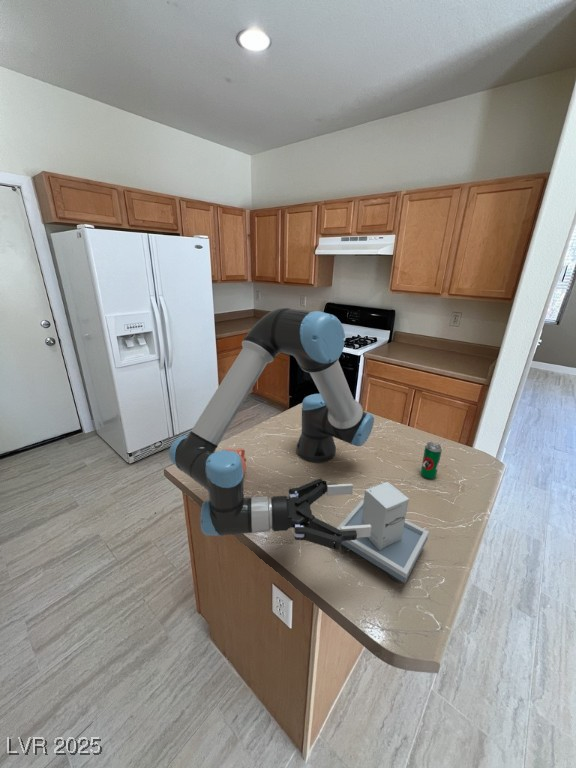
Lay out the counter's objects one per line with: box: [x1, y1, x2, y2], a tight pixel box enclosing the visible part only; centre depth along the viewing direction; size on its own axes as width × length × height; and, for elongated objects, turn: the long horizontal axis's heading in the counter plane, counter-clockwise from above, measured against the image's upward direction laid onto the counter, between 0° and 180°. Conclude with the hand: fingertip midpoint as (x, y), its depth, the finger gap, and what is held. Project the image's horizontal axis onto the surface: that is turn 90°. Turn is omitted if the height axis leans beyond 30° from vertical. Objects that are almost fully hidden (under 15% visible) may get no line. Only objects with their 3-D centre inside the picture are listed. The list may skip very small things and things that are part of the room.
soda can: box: [419, 441, 443, 480], centre depth 105 cm, size 5×5×12 cm
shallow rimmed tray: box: [335, 498, 430, 584], centre depth 78 cm, size 18×15×6 cm
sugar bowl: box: [223, 447, 247, 477], centre depth 105 cm, size 12×14×10 cm
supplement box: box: [361, 481, 410, 550], centre depth 75 cm, size 7×7×13 cm
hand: (360, 507), depth 74 cm, fingers open, 13 cm apart
